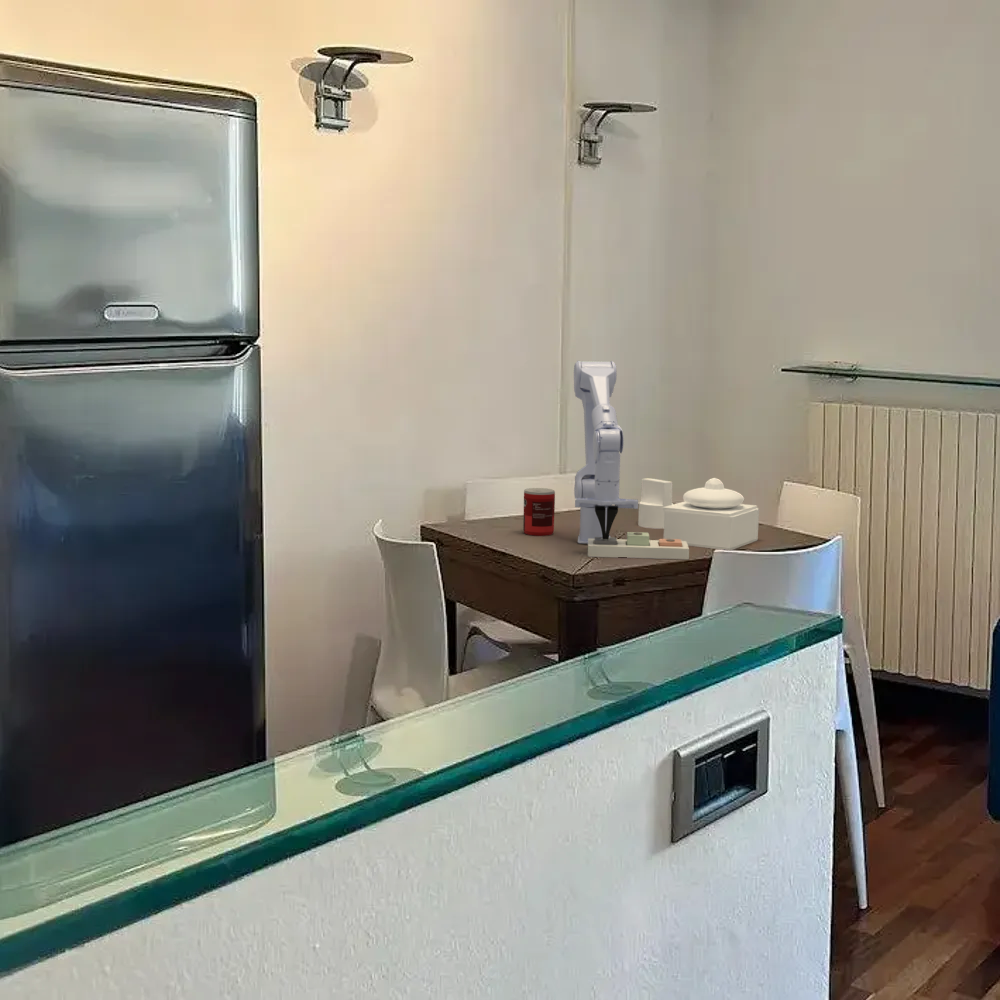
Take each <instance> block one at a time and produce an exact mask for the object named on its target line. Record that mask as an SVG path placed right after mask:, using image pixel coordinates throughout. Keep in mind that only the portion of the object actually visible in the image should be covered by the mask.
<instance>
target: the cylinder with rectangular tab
mask: <svg viewBox="0 0 1000 1000" xmlns="http://www.w3.org/2000/svg"><path fill="white" fill-rule="evenodd" d="M640 490H641V491H640V493H641V494H640V501H638V519H637V520H638V521H637V522H638V527H641V528H646V529H654V530H655V529H656V530H657V529H660V530H661V529H663V530H664V512H665V511H664V510H663V507H666V506H670V505H673V504H674V503H673V481H669V480H664V479H659V478H658V479H657V478H650V477H649V478H647V477H645V478H641V489H640Z"/></svg>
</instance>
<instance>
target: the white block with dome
mask: <svg viewBox="0 0 1000 1000" xmlns="http://www.w3.org/2000/svg"><path fill="white" fill-rule="evenodd" d="M682 499H683V501H681V502H678V503H675V504H674V503H673V505H670V506H666V507H663V510H664V511H665V512H664V528H663V539H681V541H686V542H687V544H688V547H696V548H706V549H714V550H721V549H727V550H726V551H732V550H736V549H738V548H740V547H744V546H745V545H746V546H747V545H748V544H752V543H755V542H758V539H759V519H760V508H759V507H758V505H755V504H745V503H744V501H745V497H744V496H743V495H742V494H741V493H740V492H738V491H736V490H734V489H729V488H725V485H724V483H723V482H722V480H721V479H718V478H717V477H713V478H710V479H708V480H707V481H705V484H704V486H703V487H697V488H693V489H689V490H687V491H685V493H684V494H683V495H682Z"/></svg>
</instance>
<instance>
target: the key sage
mask: <svg viewBox="0 0 1000 1000" xmlns="http://www.w3.org/2000/svg"><path fill="white" fill-rule="evenodd" d="M626 539H627V545H634V546H649V540H650V534H649V532H643V531H642V532H639V531H636V532H635V531H634V532H633V531H627V532H626Z"/></svg>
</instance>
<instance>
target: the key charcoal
mask: <svg viewBox="0 0 1000 1000" xmlns="http://www.w3.org/2000/svg"><path fill="white" fill-rule="evenodd" d="M616 539H617V537H613V536H612V537H609V539H603V537H595V544H599V545H616Z"/></svg>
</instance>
